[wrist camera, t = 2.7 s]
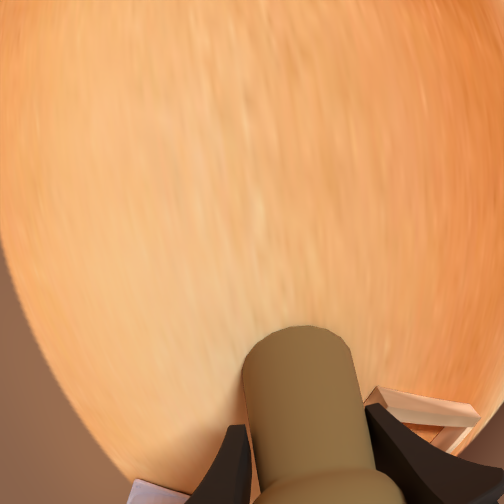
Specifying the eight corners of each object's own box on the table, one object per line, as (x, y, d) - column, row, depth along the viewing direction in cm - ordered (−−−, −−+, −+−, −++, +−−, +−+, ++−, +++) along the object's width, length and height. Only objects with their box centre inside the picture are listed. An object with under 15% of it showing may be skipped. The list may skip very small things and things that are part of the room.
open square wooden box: (392, 486, 19) (397, 500, 17) (292, 482, 18) (295, 501, 16) (469, 403, 17) (481, 417, 15) (376, 386, 16) (388, 406, 14)
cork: (237, 410, 15) (222, 585, 5) (248, 320, 14) (231, 548, 3) (337, 414, 16) (381, 571, 5) (365, 328, 14) (473, 504, 3)
